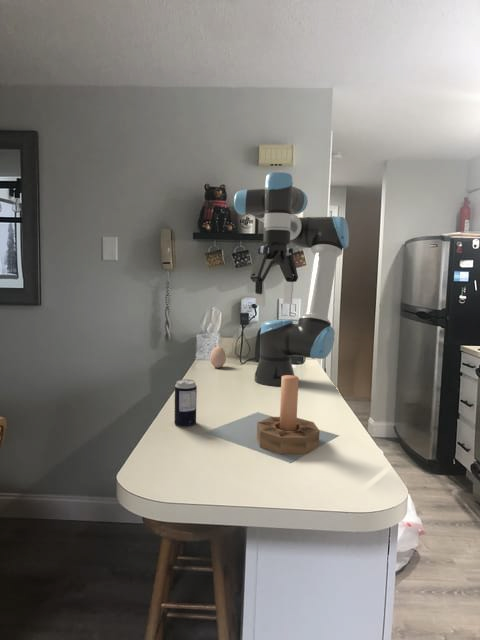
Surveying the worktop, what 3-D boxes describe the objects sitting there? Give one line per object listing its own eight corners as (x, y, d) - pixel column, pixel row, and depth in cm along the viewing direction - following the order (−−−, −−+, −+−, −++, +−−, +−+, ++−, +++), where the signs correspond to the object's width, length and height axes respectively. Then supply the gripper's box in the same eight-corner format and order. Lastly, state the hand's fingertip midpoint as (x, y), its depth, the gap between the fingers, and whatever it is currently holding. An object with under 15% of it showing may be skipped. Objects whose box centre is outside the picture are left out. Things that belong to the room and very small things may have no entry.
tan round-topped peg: (285, 437, 110) (287, 374, 108) (298, 442, 108) (301, 377, 106) (275, 442, 107) (278, 377, 105) (289, 447, 105) (292, 380, 103)
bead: (279, 427, 117) (280, 412, 117) (327, 442, 108) (328, 426, 108) (246, 442, 106) (246, 426, 106) (295, 460, 97) (296, 442, 97)
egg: (227, 366, 190) (228, 345, 189) (223, 369, 184) (223, 348, 183) (212, 365, 192) (213, 344, 191) (208, 368, 185) (208, 347, 184)
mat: (257, 414, 129) (257, 412, 129) (338, 437, 113) (339, 435, 113) (204, 434, 113) (204, 432, 112) (290, 465, 96) (290, 463, 96)
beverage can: (199, 423, 120) (200, 380, 119) (190, 430, 115) (191, 385, 113) (180, 421, 122) (181, 378, 121) (170, 427, 117) (171, 382, 115)
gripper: (290, 233, 138) (287, 301, 141) (238, 226, 119) (236, 305, 122) (311, 232, 133) (308, 303, 136) (261, 225, 114) (258, 307, 117)
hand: (274, 304), depth 129 cm, fingers open, 13 cm apart
